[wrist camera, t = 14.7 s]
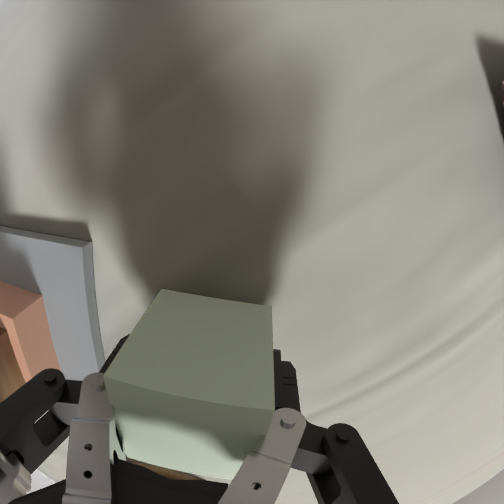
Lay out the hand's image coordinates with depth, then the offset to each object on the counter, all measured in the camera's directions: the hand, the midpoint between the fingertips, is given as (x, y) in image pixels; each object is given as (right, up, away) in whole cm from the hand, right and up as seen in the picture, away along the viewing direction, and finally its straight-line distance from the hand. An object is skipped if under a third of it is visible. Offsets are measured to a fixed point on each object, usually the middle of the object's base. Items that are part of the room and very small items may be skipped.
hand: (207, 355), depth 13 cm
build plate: (-14, 0, +3) cm, 15 cm away
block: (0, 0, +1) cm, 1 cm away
